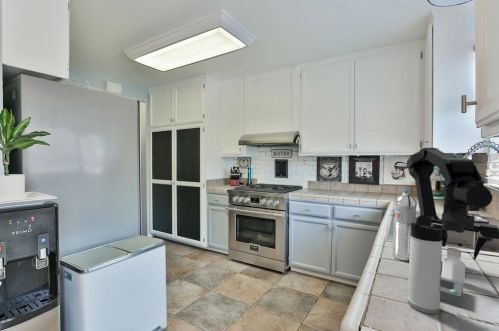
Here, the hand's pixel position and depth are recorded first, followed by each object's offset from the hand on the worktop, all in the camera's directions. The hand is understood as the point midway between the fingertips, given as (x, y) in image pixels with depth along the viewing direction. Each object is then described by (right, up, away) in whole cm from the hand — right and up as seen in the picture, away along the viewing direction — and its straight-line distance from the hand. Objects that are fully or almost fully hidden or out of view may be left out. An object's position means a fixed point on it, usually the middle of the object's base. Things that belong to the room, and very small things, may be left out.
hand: (453, 254), depth 75 cm
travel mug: (-19, -8, -14) cm, 25 cm away
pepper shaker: (0, -8, 0) cm, 8 cm away
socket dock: (-9, -8, -7) cm, 14 cm away
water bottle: (-4, -8, +18) cm, 20 cm away
